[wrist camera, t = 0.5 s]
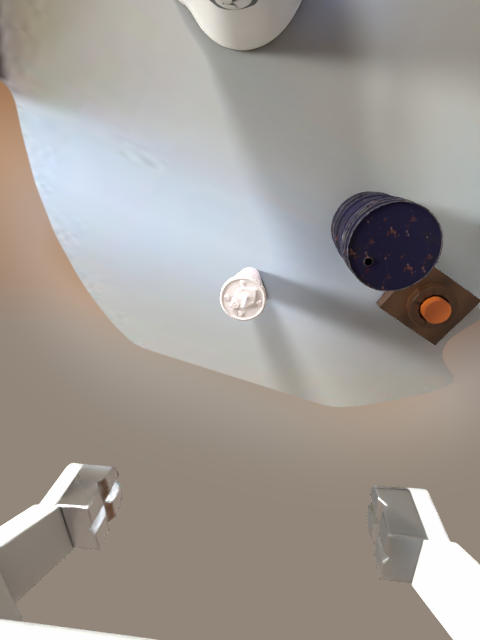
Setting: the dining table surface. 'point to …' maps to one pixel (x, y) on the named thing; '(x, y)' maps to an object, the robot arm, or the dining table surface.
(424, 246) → the oil barrel
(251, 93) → the dining table surface
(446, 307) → the button
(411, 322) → the button block
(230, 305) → the smoothie
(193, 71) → the dining table surface
